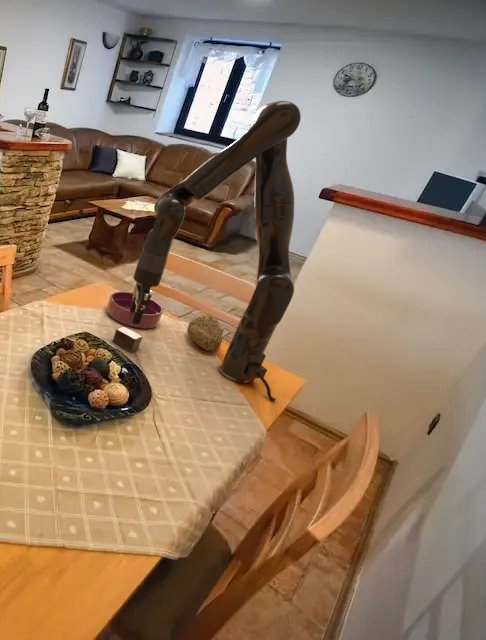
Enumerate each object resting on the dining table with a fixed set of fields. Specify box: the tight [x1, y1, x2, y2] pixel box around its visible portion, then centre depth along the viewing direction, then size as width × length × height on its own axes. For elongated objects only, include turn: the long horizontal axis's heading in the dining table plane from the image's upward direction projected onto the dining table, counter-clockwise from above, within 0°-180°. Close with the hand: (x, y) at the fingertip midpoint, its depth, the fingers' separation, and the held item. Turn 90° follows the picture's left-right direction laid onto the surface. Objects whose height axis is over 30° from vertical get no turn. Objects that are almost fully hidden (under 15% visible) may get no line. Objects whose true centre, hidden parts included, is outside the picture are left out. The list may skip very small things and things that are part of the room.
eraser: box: [112, 326, 143, 353], centre depth 153 cm, size 7×4×4 cm, turn 44°
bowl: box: [106, 291, 164, 329], centre depth 173 cm, size 18×18×6 cm
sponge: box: [187, 314, 225, 351], centre depth 166 cm, size 13×8×20 cm
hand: (134, 317), depth 149 cm, fingers open, 8 cm apart
